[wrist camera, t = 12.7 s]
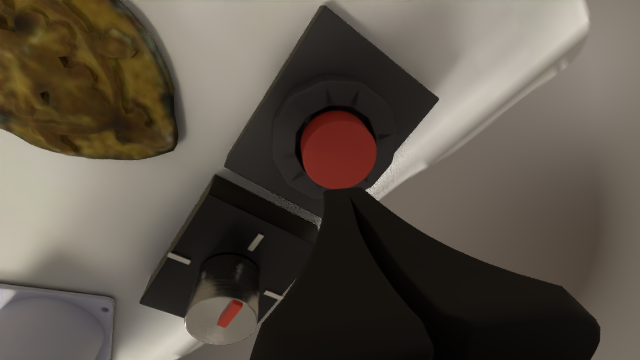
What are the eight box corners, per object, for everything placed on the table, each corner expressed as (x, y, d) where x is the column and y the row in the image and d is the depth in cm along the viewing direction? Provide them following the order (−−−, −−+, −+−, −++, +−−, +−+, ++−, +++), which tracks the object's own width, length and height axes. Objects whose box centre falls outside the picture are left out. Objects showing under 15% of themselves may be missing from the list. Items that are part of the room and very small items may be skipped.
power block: (330, 210, 23) (338, 242, 20) (227, 155, 20) (218, 182, 17) (427, 92, 20) (456, 108, 17) (320, 4, 17) (330, 5, 14)
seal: (227, 70, 19) (-109, -175, 13) (220, 80, 14) (-287, -281, 8) (145, 193, 21) (-180, 29, 15) (118, 233, 16) (-355, 26, 10)
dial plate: (249, 311, 27) (246, 340, 24) (149, 275, 24) (136, 305, 21) (319, 226, 23) (323, 250, 21) (213, 172, 20) (205, 194, 18)
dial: (241, 305, 23) (235, 357, 19) (186, 285, 21) (170, 338, 18) (271, 268, 21) (270, 316, 18) (215, 244, 20) (203, 292, 17)
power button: (341, 184, 18) (346, 201, 17) (286, 153, 17) (288, 167, 15) (381, 133, 17) (392, 146, 16) (326, 95, 16) (332, 105, 14)
